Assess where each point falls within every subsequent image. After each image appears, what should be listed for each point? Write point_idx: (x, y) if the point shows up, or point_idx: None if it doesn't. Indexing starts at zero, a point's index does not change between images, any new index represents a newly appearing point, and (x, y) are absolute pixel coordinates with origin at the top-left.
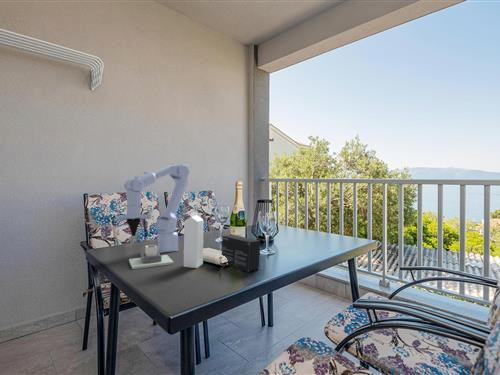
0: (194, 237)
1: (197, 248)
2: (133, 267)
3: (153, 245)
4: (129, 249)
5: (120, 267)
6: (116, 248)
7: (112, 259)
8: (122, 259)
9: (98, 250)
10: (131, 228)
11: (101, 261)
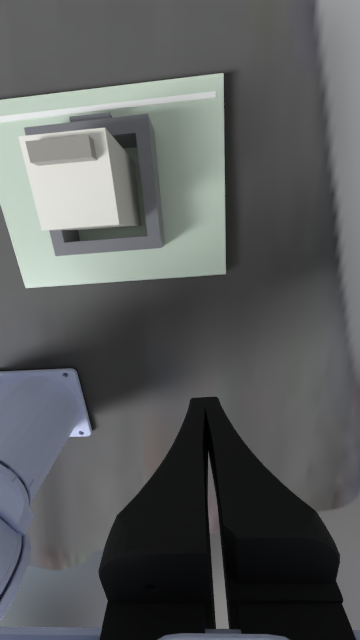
0: None
1: None
2: (215, 75)
3: (41, 141)
4: None
5: (278, 161)
6: None
7: (294, 335)
8: (250, 318)
9: (326, 488)
10: (238, 445)
11: (347, 318)
